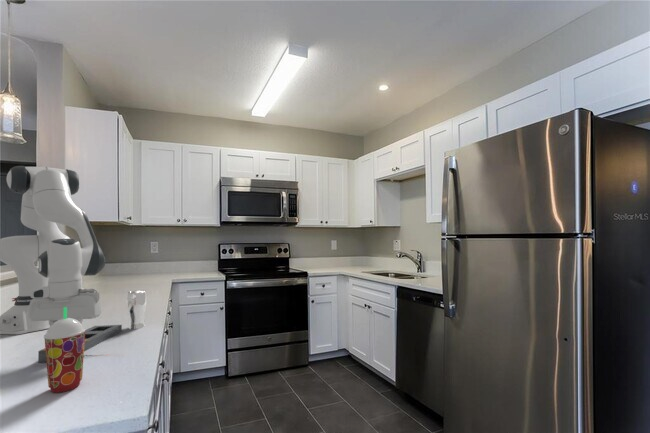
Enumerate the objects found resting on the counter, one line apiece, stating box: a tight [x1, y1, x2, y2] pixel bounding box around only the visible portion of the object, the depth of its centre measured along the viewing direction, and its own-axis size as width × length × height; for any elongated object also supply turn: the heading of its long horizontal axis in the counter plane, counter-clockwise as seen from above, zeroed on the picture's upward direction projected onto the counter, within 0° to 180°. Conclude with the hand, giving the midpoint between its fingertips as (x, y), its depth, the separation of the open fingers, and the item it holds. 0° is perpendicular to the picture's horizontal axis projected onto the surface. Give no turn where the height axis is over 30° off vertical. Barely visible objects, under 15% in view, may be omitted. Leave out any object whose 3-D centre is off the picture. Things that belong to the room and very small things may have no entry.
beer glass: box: [126, 289, 147, 330], centre depth 137 cm, size 7×7×15 cm
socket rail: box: [37, 324, 123, 364], centre depth 117 cm, size 27×10×4 cm, turn 2°
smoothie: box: [43, 307, 87, 394], centre depth 86 cm, size 8×8×20 cm
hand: (65, 333), depth 109 cm, fingers closed on beech peg, 4 cm apart
